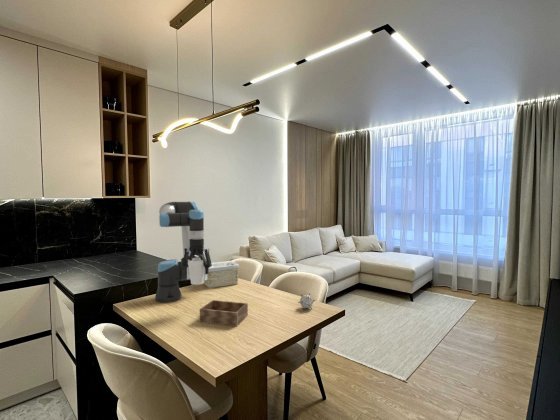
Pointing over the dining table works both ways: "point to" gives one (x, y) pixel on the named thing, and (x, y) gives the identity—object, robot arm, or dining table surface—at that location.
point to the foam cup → (196, 271)
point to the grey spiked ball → (306, 301)
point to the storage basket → (222, 274)
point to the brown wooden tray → (224, 313)
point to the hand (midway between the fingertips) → (197, 279)
